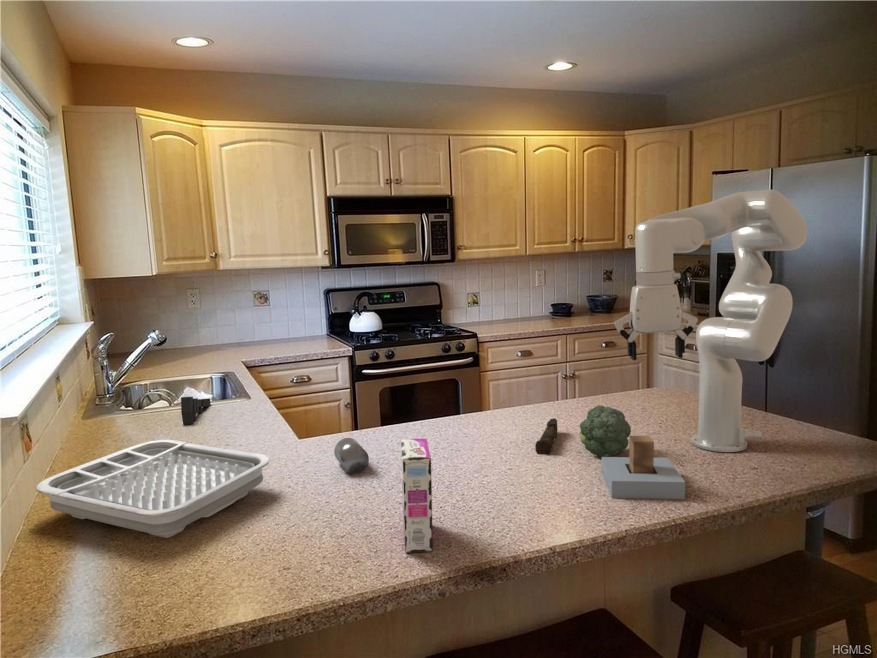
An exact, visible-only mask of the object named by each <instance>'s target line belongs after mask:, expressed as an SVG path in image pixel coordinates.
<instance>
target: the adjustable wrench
mask: <svg viewBox="0 0 877 658" xmlns="http://www.w3.org/2000/svg"><path fill="white" fill-rule="evenodd" d="M210 406H211V398H210V397H209V398H198V397H197V398H194V397H193V396H183V397H180V413H181V418H182V419H181V421H182V425H183V426H191V425H192V426H193V425H194V423H196V418H197V414H200V413H202V412H203V408H204V407H210Z"/></svg>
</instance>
